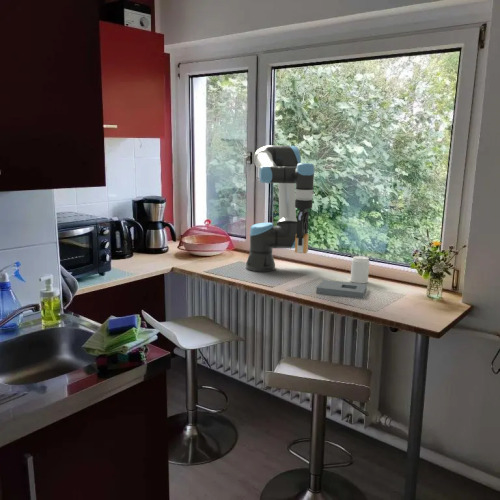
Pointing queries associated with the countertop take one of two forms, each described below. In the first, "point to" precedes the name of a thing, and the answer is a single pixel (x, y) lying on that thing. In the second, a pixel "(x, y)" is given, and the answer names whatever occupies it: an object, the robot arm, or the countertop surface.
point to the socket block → (341, 288)
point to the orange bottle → (304, 243)
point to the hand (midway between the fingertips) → (301, 251)
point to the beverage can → (359, 269)
